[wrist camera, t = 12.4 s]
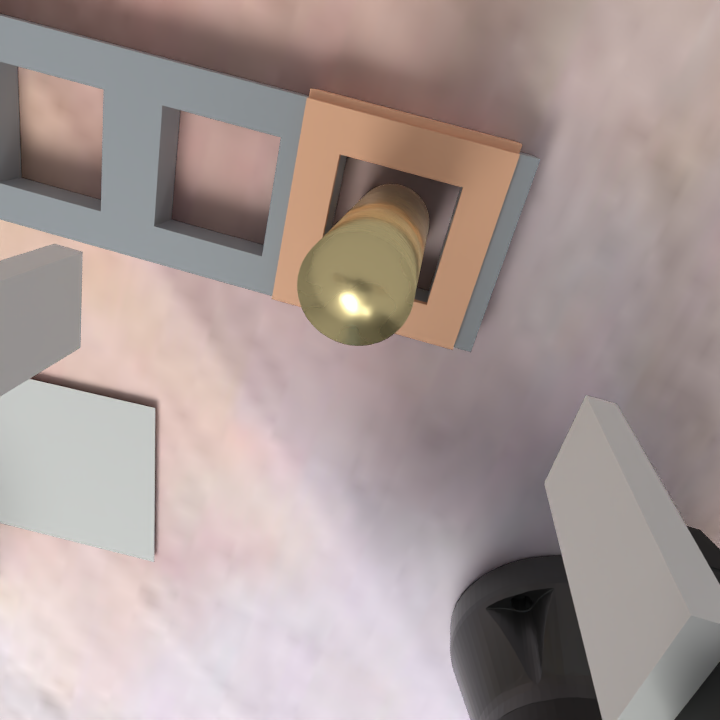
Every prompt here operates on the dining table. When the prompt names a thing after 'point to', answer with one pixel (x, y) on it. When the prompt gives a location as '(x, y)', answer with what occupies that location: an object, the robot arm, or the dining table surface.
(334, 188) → the hole plate
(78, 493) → the paper stack
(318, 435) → the dining table surface
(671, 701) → the robot arm
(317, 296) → the brass peg
